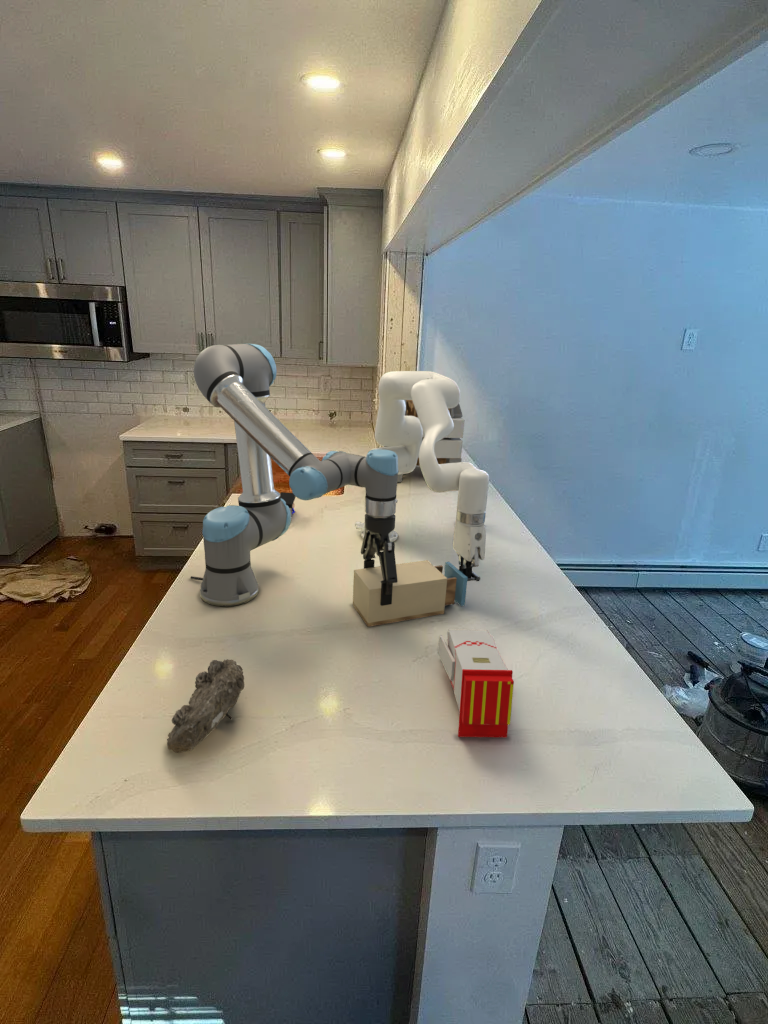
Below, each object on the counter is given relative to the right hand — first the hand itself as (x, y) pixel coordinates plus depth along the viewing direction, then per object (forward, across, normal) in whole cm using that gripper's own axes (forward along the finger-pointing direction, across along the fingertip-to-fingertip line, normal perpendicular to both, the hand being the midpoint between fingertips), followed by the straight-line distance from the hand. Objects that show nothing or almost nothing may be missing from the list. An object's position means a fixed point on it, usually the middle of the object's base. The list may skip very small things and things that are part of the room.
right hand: (464, 579), depth 155 cm
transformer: (+5, +119, -41) cm, 126 cm away
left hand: (0, 0, +26) cm, 26 cm away
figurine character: (+5, +76, +33) cm, 83 cm away
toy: (+6, -36, +18) cm, 41 cm away
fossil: (+6, -28, +69) cm, 75 cm away
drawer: (+5, 0, +10) cm, 11 cm away
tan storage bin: (+6, 0, +19) cm, 20 cm away
